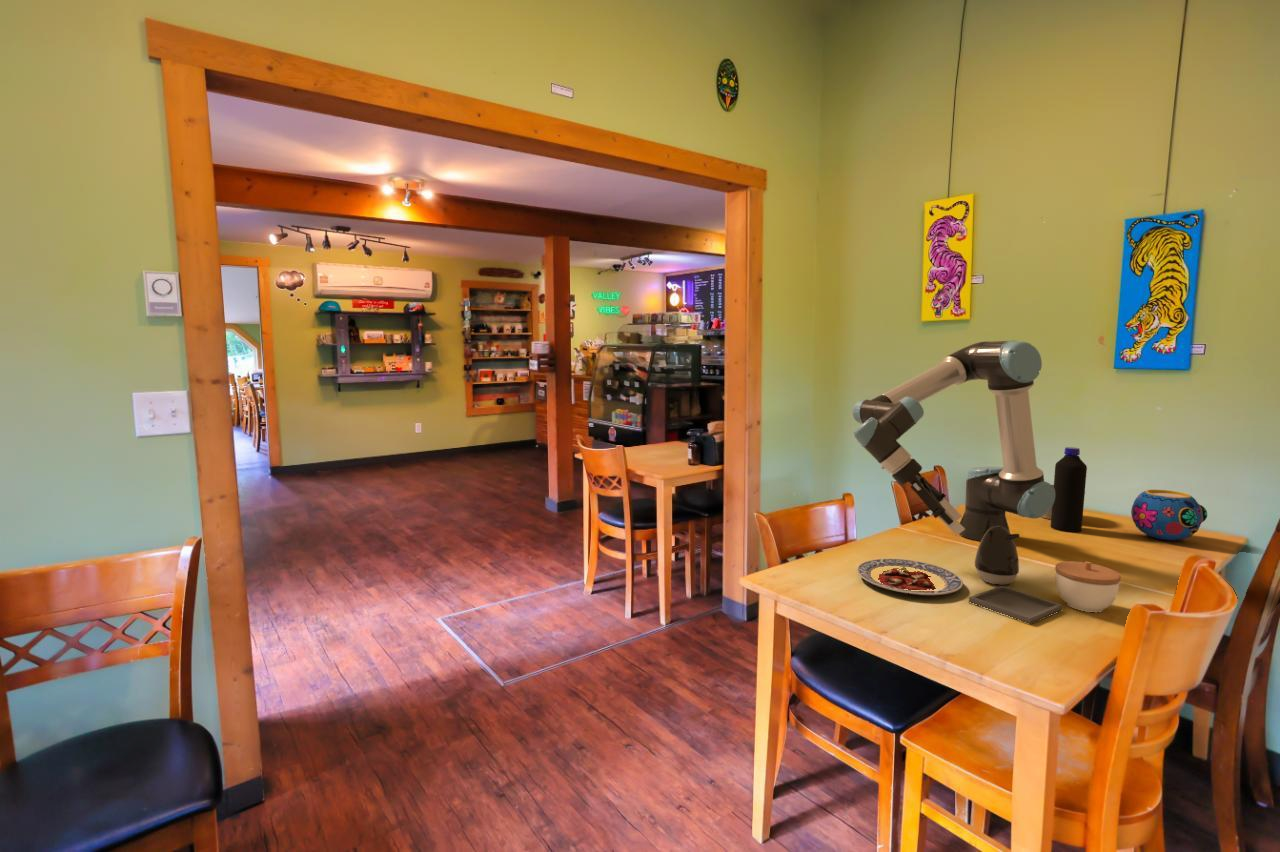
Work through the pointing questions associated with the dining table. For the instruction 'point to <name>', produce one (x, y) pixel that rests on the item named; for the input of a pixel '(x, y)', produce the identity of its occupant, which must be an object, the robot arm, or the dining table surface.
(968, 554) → the dining table surface
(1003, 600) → the tray
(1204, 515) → the ceramic pot
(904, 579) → the ceramic plate
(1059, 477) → the bottle
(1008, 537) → the pump dispenser
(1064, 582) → the lidded bowl
